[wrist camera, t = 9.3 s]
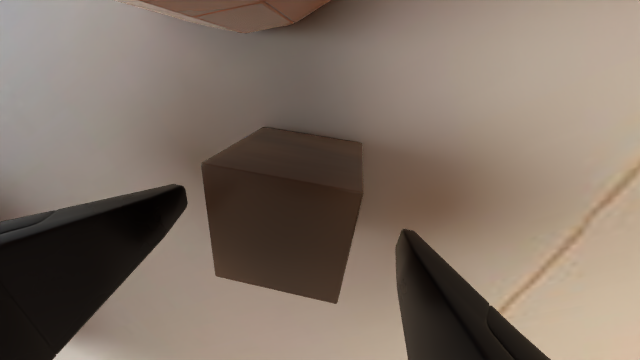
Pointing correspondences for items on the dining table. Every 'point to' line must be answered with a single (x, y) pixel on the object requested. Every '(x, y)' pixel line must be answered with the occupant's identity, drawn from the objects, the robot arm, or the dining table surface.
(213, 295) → the dining table surface
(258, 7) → the bowl
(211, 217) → the block
